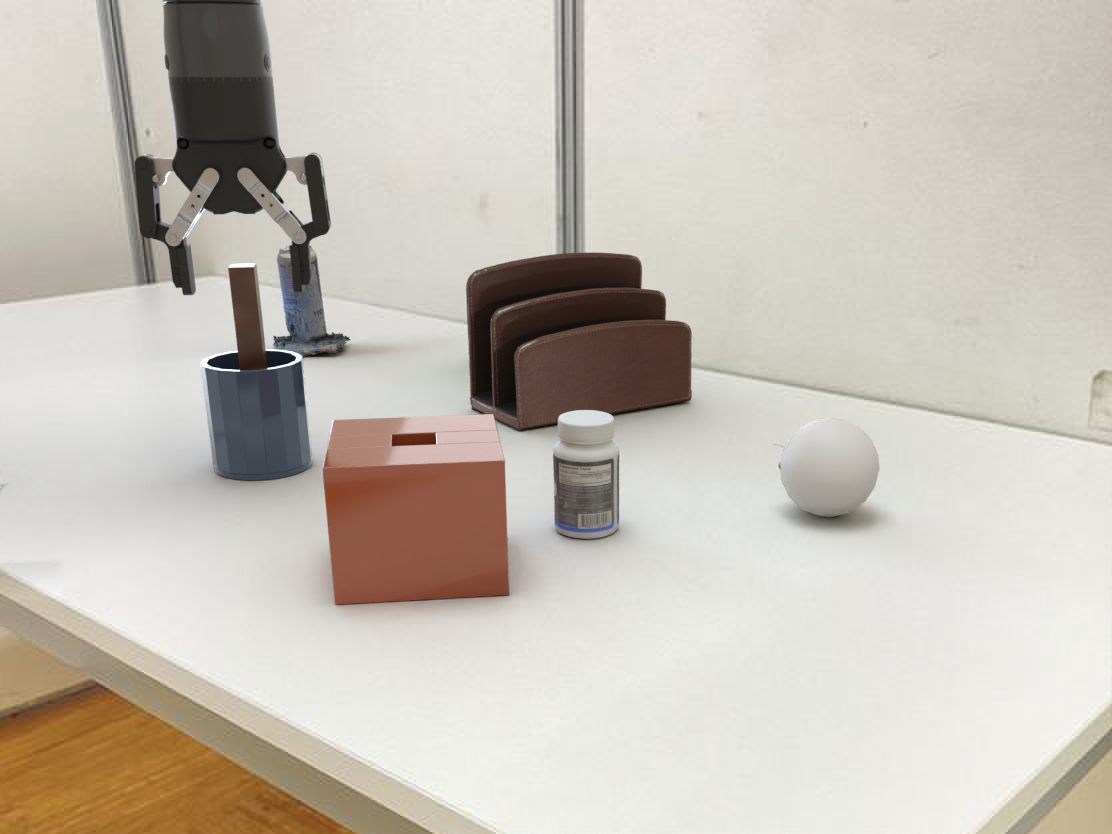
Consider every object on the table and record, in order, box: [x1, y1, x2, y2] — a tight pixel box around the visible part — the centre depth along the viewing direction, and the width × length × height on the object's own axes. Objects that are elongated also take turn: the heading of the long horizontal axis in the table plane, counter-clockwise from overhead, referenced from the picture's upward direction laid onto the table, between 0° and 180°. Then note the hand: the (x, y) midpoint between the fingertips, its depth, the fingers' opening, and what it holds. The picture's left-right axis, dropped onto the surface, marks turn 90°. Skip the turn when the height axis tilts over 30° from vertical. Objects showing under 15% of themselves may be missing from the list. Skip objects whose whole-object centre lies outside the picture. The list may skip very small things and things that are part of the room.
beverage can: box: [272, 244, 351, 358], centre depth 144 cm, size 9×8×12 cm
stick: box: [227, 262, 268, 370], centre depth 103 cm, size 2×2×16 cm
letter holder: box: [465, 251, 693, 431], centre depth 121 cm, size 10×20×14 cm, turn 123°
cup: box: [199, 348, 313, 481], centre depth 104 cm, size 8×8×9 cm
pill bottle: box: [552, 410, 620, 540], centre depth 90 cm, size 5×5×8 cm
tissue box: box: [321, 413, 510, 605], centre depth 83 cm, size 11×11×9 cm
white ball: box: [771, 417, 880, 518], centre depth 94 cm, size 10×7×7 cm
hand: (244, 292), depth 100 cm, fingers open, 8 cm apart
